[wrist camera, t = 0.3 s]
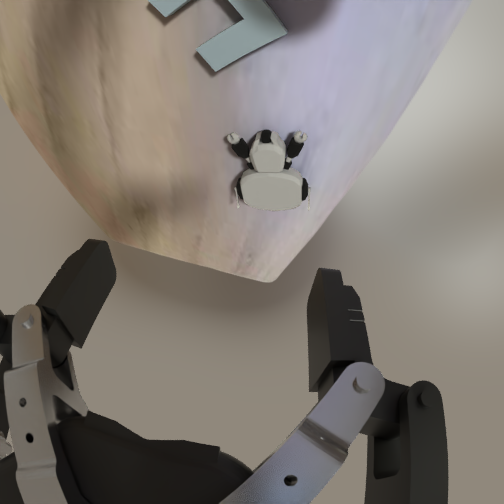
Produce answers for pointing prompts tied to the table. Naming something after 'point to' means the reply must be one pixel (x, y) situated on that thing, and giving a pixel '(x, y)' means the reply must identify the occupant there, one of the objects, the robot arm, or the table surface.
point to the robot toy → (270, 172)
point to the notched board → (234, 30)
